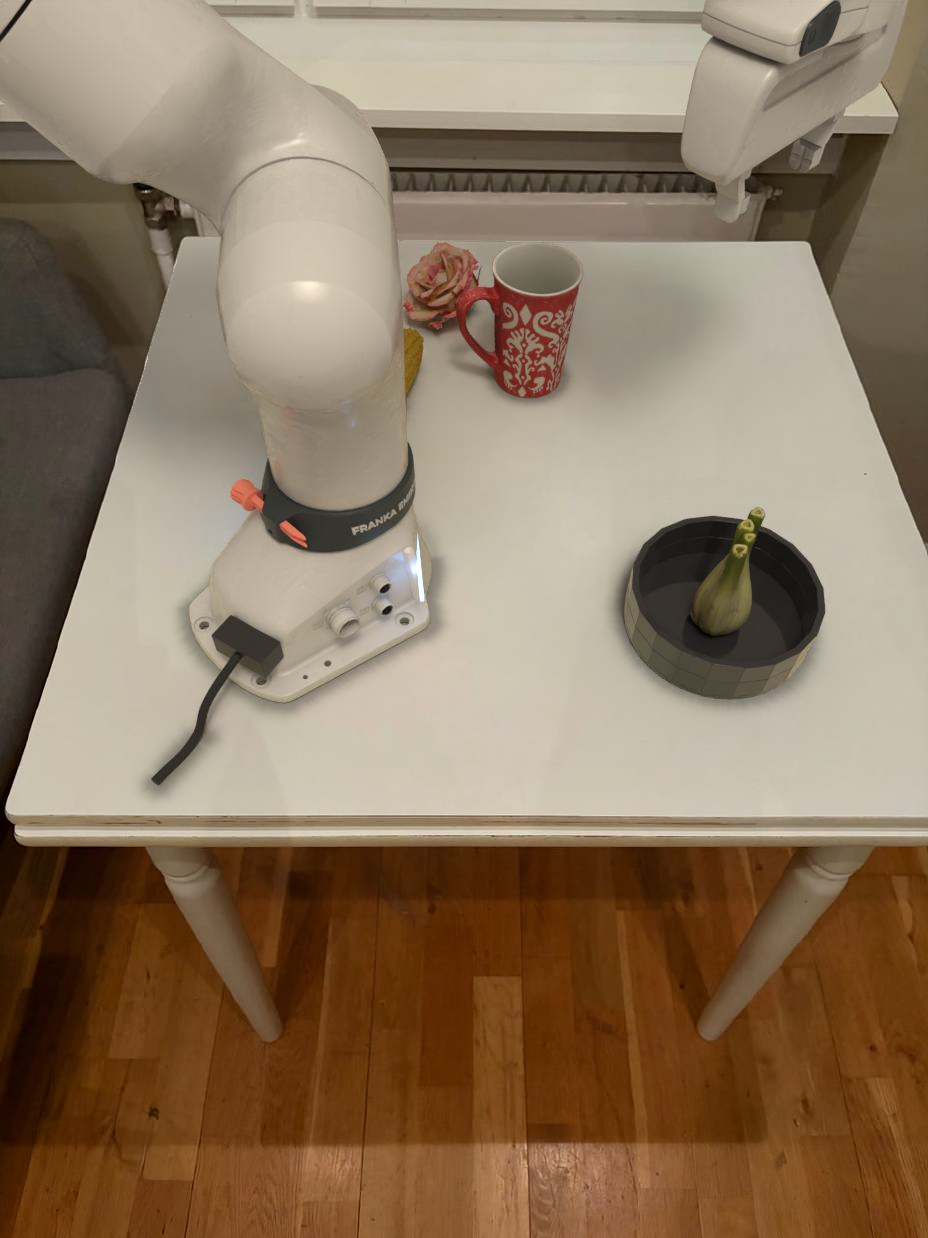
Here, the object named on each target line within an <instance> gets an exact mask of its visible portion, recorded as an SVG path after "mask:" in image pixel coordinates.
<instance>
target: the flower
mask: <svg viewBox="0 0 928 1238" xmlns="http://www.w3.org/2000/svg"><path fill="white" fill-rule="evenodd" d="M478 263H479V261H478V260H476V257H475V256H474V255H473V253H472V252H471V251H470V249H464V248H461V247H457V246H455V245H452V244H450V243H448V242H445V241H444V242H436V244H435V245H434V246H433V248H432V249H431V250H430V252H429V253H428V254H425V255H423V256H421V257H420V259H419V262H418V263H416V264H415V265H413V266H412V267H411V268H410V270H409V271H408V273H407V275H406V283H407V285H408V288H409V290H408V293H407V295H406V298H405V301H404V302H403V308H405V309H406V310H404V311H405V314H406V315H407V316H408V318H409V320H413V321H419V322H425V321H429V320H432V319H434V318H435V317H436V316H440V317H441V320H439V321H438V320H437V321H435V320H434V321H430V323H428V324H427V325H426V327H427V329H432V330H434V329H436V330H440V329H443V324H444V323H445V322H448V321H449V320H451V319H453V318H456V308H457V303H458V301H459V298H460V297H461V295H462V294H463V293H464V292H466V291H467V290H469V289H471V288H473V287H479V285H480V281H479V279H480V274H481V270H482V267H480V266H479V264H478ZM474 271H478V272H477V273H478V276H477V277H476V275H475V272H474ZM473 308H474V306H473V304H472V305H471V306H470V307H469V309H468V311H467V312H469V311H472V310H473Z"/></svg>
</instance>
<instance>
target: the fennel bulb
mask: <svg viewBox="0 0 928 1238" xmlns="http://www.w3.org/2000/svg"><path fill="white" fill-rule="evenodd" d="M765 518H766V512H765V510H764V509H763V508H762V507H760V506H756V507H754V508H752V509H751V510H750V511H749V513H748V515H747V519H746V518H745V519H743V520H744V521H742V522H741V523H740V524H738V526H737V529H736V533H735V537H734V540H733V544H732V547H731V550H730V553H729V554H728V555H727V556H726V557H725V558H724V559H723V560H722V561H721V562H720V563H719V564H718V565H717V566H716V567H715V568H714V569H713V570H712V571H711V573H710V574H709V575H708V576H707V577H706V579H705V580H704V581H703V582H702V584H701V585H700V587H699V588H698V590H697V591H696V594H695V596H694V598H693V602H692V603H691V606H690V616H691V619H692V621H693V622H694V623H695V624H696V625H697V626H698V627H699V628H700V629H701V630H702V631H703V632H704V633H707V634H709V635H712V636H717V635H721V634H722V635H726V634H730V633H732V632H735V631H737V630H738V629H740V628H741V627H742V626H743V625H744V623H745V622H746V621H747V619H748V617H749V615H750V611H751V605H752V590H751V581H750V572H749V556H750V552H751V549H752V547H753V544H754V542H755V540H756V536H757V534H758V531H759V529H760V527H761V526H762V525H763V522H764V520H765Z"/></svg>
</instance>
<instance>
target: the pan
mask: <svg viewBox="0 0 928 1238" xmlns="http://www.w3.org/2000/svg"><path fill="white" fill-rule="evenodd" d="M744 520H745V519H742V518H738V517H728V516H721V515H706V516H698V517H697V516H696V517H687V518H684V519H682V520H679V521H676V522H673V523H671V524H669V525H666V526H664V527H662V528H660V529H659V530H658V531H657V532H656V533H654V534H653V535H652V536H651V537H650V538H649V539H648V540H646V541H645V542H644V543H643V544H642V546H641V548H640V550H639V552H638V554H637V556H636V557H635V559H634V562H633V564H632V568H631V572H630V576H629V579H628V584H627V588H626V592H625V596H624V597H625V598H624V605H623V617H624V618H623V620H624V627H625V631H626V633H627V636H628V639H629V641H630V644H631V645H632V647H633V649H634V651H635V652H636V653H637V654H638V656H639V658H640V659H641V660H642V661H643V662H644V663H645V664H646V665H647V667H648V668H650V669H651V670H652V671H653V672H654V673H655V674H656V675H657V676H659V677H660V678H662V679H663V680H665V681H667V682H668V683H670V684H671V685H673V686H675V687H677V688H679V689H680V690H681V689H682V690H684V691H686V692H689V693H691V694H695V695H698V696H702V697H706V698H713V699H720V700H721V699H722V700H741V699H742V700H743V699H749V698H753V697H757V696H759V695H763V694H766V693H768V692H770V691H773V690H775V689H776V688H778V687H779V686H781V685H782V684H784V683H785V682H786V681H787V680H789V678H791V677H792V676H793V674H795V672H796V671H797V670H798V669H799V667H800V666H801V665H802V664H803V662H804V660H805V658H806V657H807V654H808V653H809V651H810V649H811V647H812V646H813V644H814V643H815V640H816V639H817V637H818V635H819V632H820V630H821V627H822V624H823V621H824V617H825V616H826V613H827V612H826V611H827V610H826V601H825V600H826V599H825V588H824V585H823V584H822V582H821V580H820V578H819V575H818V573H817V571H816V570H815V567H814V566H813V564H812V562H810V560H809V559H807V557H806V556H805V555H804V554H803V553H802V551H801V550H799V548H797V547H796V545H794V543H792V542H791V541H789V540H788V539H786V538H785V537H783V536H782V535H780V534H778V533H777V532H775V531H773V530H772V529H771V528H768V527H766V526H763V525H761V527H760V529H759V531H758V534H757V536H756V540H755V542H754V544H753V547H752V549H751V552H750V556H749V572H750V581H751V590H752V605H751V611H750V615H749V617H748V619H747V621H746V622H745V623H744V625H743V626H742V627H741V628H740V629H738V630H737V631H735V632H732V633H730V634H726V635H722V634H721V635H717V636H712V635H709V634H707V633H704V632H703V631H702V630H701V629H700V628H699V627H698V626H697V625H696V624H695V623H694V622H693V621H692V619H691V616H690V606H691V603H692V602H693V598H694V596H695V594H696V591H697V590H698V588H699V587H700V585H701V584H702V582H703V581H704V580H705V579H706V577H707V576H708V575H709V574H710V573H711V571H712V570H713V569H714V568H715V567H716V566H717V565H718V564H719V563H720V562H721V561H722V560H723V559H724V558H725V557H726V556H727V555H728V554H729V553H730V550H731V547H732V544H733V540H734V537H735V533H736V529H737V526H738V524H740V523H741V522H742V521H744Z"/></svg>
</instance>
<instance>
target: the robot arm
mask: <svg viewBox="0 0 928 1238" xmlns="http://www.w3.org/2000/svg"><path fill="white" fill-rule="evenodd" d="M908 4H909V0H705V2H704V5H703V11H702V15H701V20H700V28H701V30H702V31H703V32H705V33H706V34H708V35H710V36H711V37H710V38H709V40H707V42H706V44H704V47H703V48H702V51H701V53H700V55H699V57H698V59H697V62H696V66H695V69H694V72H693V76H692V79H691V80H692V81H691V84H690V90H689V94H688V100H687V105H686V110H685V116H684V122H683V126H682V134H681V139H680V156H681V159H682V161H683V165H684V166H685V168H686V169H687V170H688V171H690V172H692V173H694V174H696V175H697V176H699V177H701V178H704V179H706V180H708V181H710V182H713V183H714V185H715V191H716V192H717V194H716V197H715V203H714V206H713V215H714V216H715V218H716V219H719V220H721V221H722V222H725V223H727V224H733V223H734V222H736V221H737V220H738V219H739V218H741V217H743V216H744V215H745V214H746V213H747V211H748V205H749V203H750V199H751V195H752V193H750V192H749V191H746V185H745V184H746V183H745V181H746V180H747V179H749V178H750V177H751V175H752V172H753V169H754V168H755V167H757V166H758V165H760V164H761V163H763V162H764V161H766V160H768V159H770V158H771V157H772V156H774V155H775V154H777V153H778V152H780V151H781V150H783V149H785V148H786V147H788V146H790V145H791V144H792V143H793V145H792V148H791V151H790V152H791V154H790V156H789V157H788V166H789V167H790V168H791V169H793V170H798V171H799V172H800V173H803V174H805V173H808V172H809V171H811V170H812V169H814V168H815V167H816V166H818V165H819V164H820V162H821V160H822V156H823V153H824V150H825V148H826V144H828V142H829V140H830V139H831V137H832V136H833V134H834V132H835V131H836V129H837V127H838V126H839V124H840V122H841V120H842V119H843V118H844V114H845V112H846V109H847V108H848V107H849V106H851V105H852V104H855V103H856V102H857V101H859V100H860V99H862V98H863V97H865V96H866V95H868V94H869V93H871V92H873V91H874V90H876V89H877V87H879V84H881V82H882V80H883V78H884V77H885V75H886V73H887V71H888V69H889V67H890V64H891V62H892V58H893V55H894V51H895V48H896V47H897V42H898V39H899V36H900V33H901V29H902V26H903V23H904V19H905V14H906V11H907V7H908ZM0 102H1V103H2V104H3V105H4V106H6V107H7V108H8V109H10V110H11V111H12V112H13V113H15V114H16V115H17V116H18V117H19V118H20V119H22V120H23V121H24V122H25V123H26V124H28V125H29V126H30V127H32V129H34V130H35V131H37V132H38V133H39V134H40V135H42V136H43V137H44V138H45V139H47V140H48V141H49V142H50V143H51V144H53V146H55V147H56V148H58V149H59V151H61V152H63V154H65V155H66V156H67V157H68V158H70V159H71V160H72V161H73V162H75V163H76V164H77V165H78V166H79V167H81V168H82V169H83V170H85V171H86V172H87V173H88V174H90V176H93V177H95V178H96V179H98V180H100V181H103V182H107V183H109V184H113V185H114V184H115V185H130V184H131V185H132V184H137V183H139V184H144V185H147V186H149V187H152V188H154V189H157V190H159V191H161V192H163V193H165V194H168V195H169V196H170V197H173V198H175V199H177V200H178V201H181V202H182V203H185V204H186V205H188V206H190V207H192V208H193V209H194V210H196V211H198V212H199V213H200V214H201V215H203V216H204V217H205V218H206V220H208V221H209V222H210V223H211V224H212V226H213V227H214V229H215V230H216V232H217V233H218V235H219V237H220V245H219V253H218V265H217V273H216V285H215V294H216V295H215V296H216V302H217V310H218V315H219V320H220V321H219V322H220V326H221V331H222V335H223V340H224V344H225V348H226V352H227V355H228V359H229V362H230V365H231V367H232V369H233V371H234V373H235V374H236V375H237V377H238V378H239V380H240V381H241V382H242V383H243V384H244V386H245V387H246V388H247V389H248V390H249V391H250V392H251V393H252V396H253V398H254V402H255V405H256V409H257V412H258V417H259V422H260V427H261V431H262V436H263V441H264V445H265V448H266V449H265V450H266V453H267V459H266V464H265V467H264V471H263V477H262V482H261V488H260V489H259V488H257V487H256V486H255V485H254V484H253V482H252V481H251V480H249V479H247V478H241V479H239V480H237V481H236V482H234V484H233V485H232V486H231V488H230V491H229V493H230V495H229V496H230V497H231V499H232V500H233V501H234V502H235V503H237V504H239V505H241V506H242V508H243V509H244V511H246V512H250V513H249V514H248V516H247V517H246V518H245V520H244V521H243V522H242V524H241V525H240V527H239V528H238V529H237V530H236V532H235V533H234V535H233V536H232V537H231V539H229V541H228V542H227V544H226V545H225V546H224V548H223V549H222V551H221V552H220V554H218V556H217V557H216V559H215V560H214V561H213V563H212V565H211V567H210V570H209V571H210V572H209V579H208V580H209V581H208V585H207V586H206V587H205V589H204V588H203V590H202V591H201V592H200V593H199V594H198V595H197V596H196V597H195V598H194V599H193V600H192V601H191V602H190V604H189V607H188V615H189V623H190V627H191V630H192V633H193V635H194V637H195V640H196V642H197V644H198V645H199V646H200V648H201V650H202V651H203V652H204V653H205V655H206V656H207V658H208V659H209V660H211V662H212V663H213V664H214V665H215V666H216V667H217V668H218V669H219V670H220V672H219V674H218V675H217V676H216V678H215V679H214V681H213V682H212V684H211V685H210V687H209V688H208V690H207V692H206V694H205V696H204V698H203V699H202V701H201V704H200V706H199V709H198V713H197V716H196V723H195V726H194V729H193V732H192V734H191V735H190V737H189V738H188V740H187V741H186V742H185V744H184V745H183V747H182V748H181V749H179V751H178V752H177V753H176V754H175V755H174V756H173V757H172V758H171V759H170V760H169V761H168V762H167V763H165V764H164V765H163V766H162V767H161V768H160V769H159V770H158V771H157V772H156V773H155V774H154V775H153V776H152V777H151V778H150V780H151V781H152V782H153V783H154V784H155V785H157V786H158V785H160V784H161V783H162V782H163V780H165V778H166V777H168V776H169V775H170V774H171V773H172V772H173V771H174V770H176V769H177V767H178V766H179V765H180V764H181V763H183V761H185V760H186V758H187V757H188V756H189V755H190V754H191V753H192V751H193V750H194V749H195V747H196V746H197V745H198V743H199V742H200V740H201V738H202V736H203V734H204V731H205V727H206V722H207V718H208V713H209V711H210V709H211V706H212V705H213V702H214V700H215V698H216V697H217V695H218V694H219V691H220V690H221V689H222V687H223V686H224V684H225V682H226V681H227V680H228V679H230V680H231V681H232V682H234V683H235V684H236V685H238V686H239V687H240V688H242V689H244V690H245V691H247V692H249V693H251V694H252V695H255V696H257V697H258V698H259V697H260V698H262V699H265V700H267V701H272V702H276V703H282V704H285V703H287V704H288V703H290V702H292V701H295V700H297V699H298V698H300V697H302V696H304V695H306V694H308V693H309V692H311V691H314V690H316V689H317V688H319V687H321V686H322V685H325V684H327V683H328V682H330V681H332V680H334V679H336V678H337V677H339V676H342V675H343V674H345V673H347V672H349V671H351V670H353V669H355V668H356V667H358V666H359V665H361V664H363V663H365V662H367V661H369V660H371V659H372V658H374V657H376V656H378V655H380V654H382V653H384V652H385V651H387V650H389V649H391V648H393V647H395V646H397V645H399V644H400V643H402V642H405V641H407V640H408V639H410V638H412V637H413V636H416V635H417V634H419V633H421V632H423V631H424V630H426V629H427V628H428V627H429V625H430V622H431V612H430V608H429V604H428V599H427V596H428V591H429V588H430V584H431V580H432V574H433V573H432V572H433V561H432V558H431V553H430V551H429V548H428V546H427V544H426V542H425V540H424V539H423V536H422V534H421V532H420V531H421V530H420V528H419V525H418V522H417V516H416V513H415V508H414V500H415V496H416V484H417V482H416V472H415V461H414V453H413V449H412V447H411V445H410V442H409V440H408V425H407V424H408V422H407V421H408V420H407V403H406V397H405V369H404V329H405V328H404V307H403V305H404V301H403V288H402V287H403V286H402V277H401V263H400V252H399V251H400V250H399V241H398V232H397V228H396V218H395V216H396V215H395V207H394V205H395V204H394V194H393V184H392V175H391V170H390V167H389V163H388V161H387V158H386V156H385V153H384V151H383V149H382V146H381V144H380V142H379V140H378V137H377V136H376V134H375V131H374V130H373V128H372V126H371V124H370V123H369V121H368V119H367V117H366V116H365V115H364V114H363V112H362V111H361V110H360V108H359V107H358V106H357V105H356V104H355V103H354V102H353V101H351V100H350V99H349V98H347V97H346V96H344V94H341V93H340V92H338V91H336V90H334V89H331V88H329V87H325V86H323V85H318V84H312V83H309V82H308V81H307V80H305V79H304V78H303V77H301V76H300V75H298V74H297V73H296V72H295V71H293V70H291V69H290V68H289V67H287V66H286V65H285V64H283V63H282V62H280V61H279V60H278V59H276V58H275V57H273V56H272V55H271V54H270V53H268V52H266V51H265V50H264V49H263V48H261V47H260V46H259V45H257V44H256V43H255V42H253V41H252V40H251V39H249V38H248V37H247V36H245V35H244V34H243V33H242V32H240V31H239V30H238V29H237V28H235V27H234V26H233V25H232V24H231V23H230V22H228V21H227V19H225V18H224V17H223V16H222V15H221V14H219V13H218V11H216V10H215V9H214V8H213V7H212V6H211V5H210V4H209V3H208V2H207V1H206V0H0ZM403 328H404V329H403ZM403 623H407V624H403ZM204 627H207V628H204ZM261 682H265V683H263V684H259V683H261Z"/></svg>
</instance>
